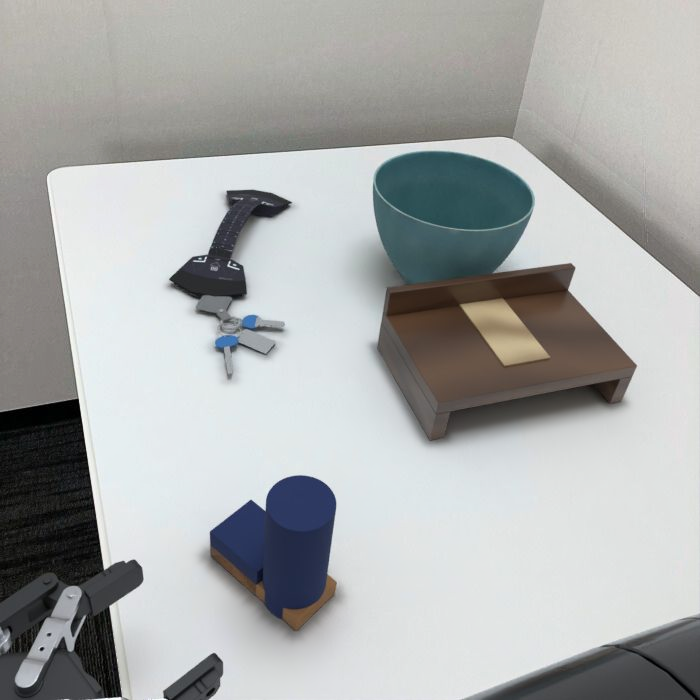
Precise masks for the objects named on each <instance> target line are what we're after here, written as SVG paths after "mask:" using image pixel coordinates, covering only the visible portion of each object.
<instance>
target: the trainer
mask: <svg viewBox="0 0 700 700" xmlns="http://www.w3.org/2000/svg"><path fill="white" fill-rule="evenodd" d="M336 513H337V498H336V495H335V493H334V491H333V490H332V488H331V487H330V486H329V485H328V484H326V482H324V481H323V480H321V479H320V478H319V479H318V478H317V477H313V476H309V475H305V474H304V475H301V474H298V475H291V476H287V477H284V478H282V479H280V480H279V481H277V482H276V483H274V484H273V486H272V487H270V489H269V490H268V493H267V495H266V498H265V509H264V508H262V507H261V506H260V505H259V504H257V503H256V502H255V501H254V500H252V499H250V500H248V501H247V502H246V503H245V504H243V505H241V507H239V508H238V509H236V510H235V511H234V512H233V513H231V514H230V515H228V517H227V518H225V519H224V520H223V521H221V522H220V523H219V524H218V525H216V526H215V527H213V528H212V529H211V530H210V531H209V546H210V547H209V548H210V549H209V550H210V551H209V554H210V557H211V558H212V559H213V560H214V561H216V562H217V563H218V564H219V565H220V566H221V567H223V568H224V570H226V571H227V572H229V573H230V575H232V576H233V577H234V578H235V579H236V580H237V581H238V582H239V583H241V584H242V585H243V586H245V588H246V589H248V590H249V592H251V593H252V594H253V595H254V596H256V597H257V598H258V599H259V600H260V601H262V603H264V605H265V607H266V608H267V610H268V611H269V612H270V613H271V614H272V615H273V616H275V617H277V618H278V619H281V620H283V621H284V622H285V623H287V624H288V625H289V626H290V627H291V628H293V629H294V630H295V631H298V630H299V629H301V627H302V626H303V625H304V624H305V623H306V622H307V621H309V619H310V618H311V617H312V616H313V615H314V614H315V613H317V612H318V610H320V609H321V608H322V606H324V605H325V604H326V603H327V602H328V601H329V600H330V599H331V598H332V597H333V596H334V595H335V594H336V589H337V581H336V580H335V579H334V578H332V576H330V574H328V572H329V565H330V557H331V549H332V542H333V535H334V527H335V521H336V519H335V518H336Z"/></svg>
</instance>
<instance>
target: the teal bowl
mask: <svg viewBox="0 0 700 700" xmlns="http://www.w3.org/2000/svg"><path fill="white" fill-rule="evenodd" d="M372 178H373V179H372V180H373V181H372V206H373V213H374V214H373V215H374V220H375V224H376V228H377V232H378V235H379V238H380V241H381V244H382V246H383V249H384V251H385V253H386V255H387V257H388V259H389V261H390V262H391V263H392V265H393V266H394V268H395V269H396V270H397V272H398V273H399V274H400V276H401V277H402V278H403V280H404V281H405V282H406V283H407V284H416V283H423V282H431V281H439V280H446V279H454V278H461V277H469V276H476V275H484V274H492V273H495V271H496V270H497V269H498V268H499V267H500V266H501V265H502V264H503V263H504V262H505V261H506V260H507V258H508V257H509V256H510V255H511V253H512V252H513V250H514V249H515V248H516V247H517V245H518V244H519V241H520V240H521V238H522V237H523V234H524V232H525V231H526V229H527V227H528V224H529V222H530V221H531V218H532V215H533V212H534V208H535V205H536V197H535V194H534V192H533V190H532V188H531V186H530V185H529V184H528V183H527V181H525V180H524V179H523V178H522V177H521V176H520V175H519V174H517V173H516V172H514V171H513V170H512V169H510V168H508V167H505V165H502V164H500V163H497V162H495V161H493V160H489V159H487V158H484V157H481V156H477V155H474V154H469V153H463V152H457V151H453V150H452V151H451V150H418V151H410V152H405V153H402V154H398V155H396V156H393V157H390V158H388V159H387V160H385V161H384V162H382V163H381V164H380V165H379V166H378V167H377V168H376V170H375V171H374V173H373V177H372Z"/></svg>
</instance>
